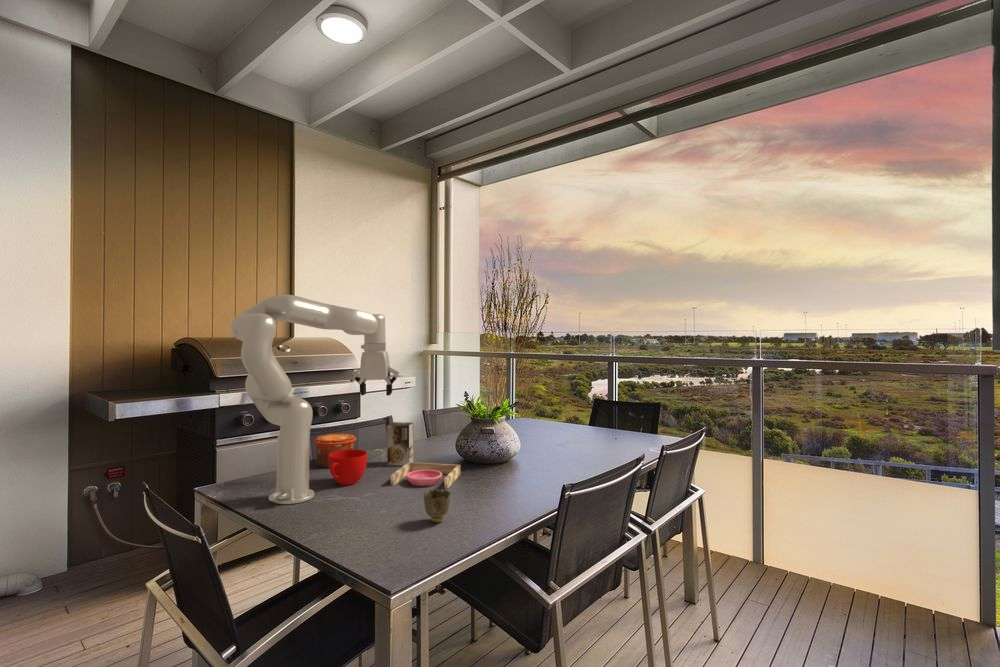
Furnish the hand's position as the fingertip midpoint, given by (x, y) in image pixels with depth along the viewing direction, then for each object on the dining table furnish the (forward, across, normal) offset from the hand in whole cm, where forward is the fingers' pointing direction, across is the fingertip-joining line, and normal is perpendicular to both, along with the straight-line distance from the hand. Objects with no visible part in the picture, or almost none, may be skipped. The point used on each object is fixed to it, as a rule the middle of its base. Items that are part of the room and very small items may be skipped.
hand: (376, 394), depth 186 cm
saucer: (+30, +19, -6) cm, 36 cm away
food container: (+30, -22, +12) cm, 39 cm away
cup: (+29, +33, -41) cm, 60 cm away
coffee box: (+30, +3, +16) cm, 35 cm away
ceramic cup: (+29, -7, -12) cm, 32 cm away
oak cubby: (+30, +19, -3) cm, 36 cm away
